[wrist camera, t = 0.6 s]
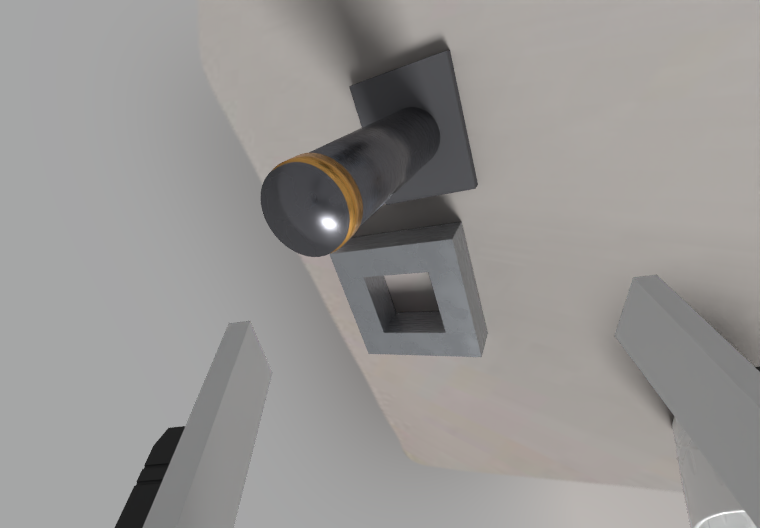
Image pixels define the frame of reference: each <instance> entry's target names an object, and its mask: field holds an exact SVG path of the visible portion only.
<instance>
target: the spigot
mask: <svg viewBox="0 0 760 528" xmlns="http://www.w3.org/2000/svg"><path fill="white" fill-rule="evenodd" d="M439 144H440V131H439V127H438V125H437V123H436V121H435V119H434V118H433V117H432V116H431V115H430V114H429V113H428V112H427V111H425V110H423V109H420V108H417V107H407V108H404V109H401V110H399V111H397V112H395V113H393V114H391V115H388V116H386V117H384V118H382V119H380V120H378V121H376V122H373V123H371V124H369V125H367V126H365V127H363V128H361V129H358V130H356V131H354V132H352V133H350V134H348V135H346V136H343V137H341V138H339V139H337V140H335V141H333V142H331V143H328V144H326V145H324V146H322V147H320V148H318V149H316V150H313V151H311V152H309V153H304V154H300V155H298V156H295V157H293V158H291V159H289V160H287V161H284V162H282V163H280V164H279V165H277V166H276V167H275V168H274V169H273V170H272V171H271V172H270V173H269V174H268V176H267V177H266V179H265V180H264V183H263V185H262V190H261V205H262V211H263V214H264V217H265V219H266V221H267V223H268V225H269V227H270V229H271V230H272V231H273V233H274V234H275V236H276V237H277V238H278V239H279V240H280V241H281V242H282V243H283V244H285V245H286V246H287V247H288V248H290V249H292V250H293V251H295V252H297V253H299V254H302V255H305V256H311V257H320V256H325V255H327V254H330V253H332V252H335V251H336V250H338V249H339V248H341V247H342V246H343V245H344V244H345V243H346V242H347V241H348V240H349V239H350V238H351V237H352V236H353V235H354V234H355V233H356V232H357V230H358V228H359V227H360V226H361V225H362V224H363V223H364V222H365V221H366V220H367V219H368V218H369V217H370V216H372V215H373V214H374V213H375V212H376V211H377V210H378V209H379V208H380V207H381V206H382V205H383V204H384V203H385V202H386V201H387V200H388V199H390V198H391V197H392V196H393V195H394V194H395V193H396V192H397V191H398V190H399V189H400V188H401V187H402V186H403V185H404V184H405V183H407V182H408V181H409V180H410V179H411V178H412V177H413V176H414V175H415V174H416V173H417V172H418V171H419V170H420V169H421V168H422V167H423V166H425V165H426V164H427V163H428V162H429V161H430V160H431V159H432V158H433V157H434V156H435V154H436V152H437V150H438V148H439Z"/></svg>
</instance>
